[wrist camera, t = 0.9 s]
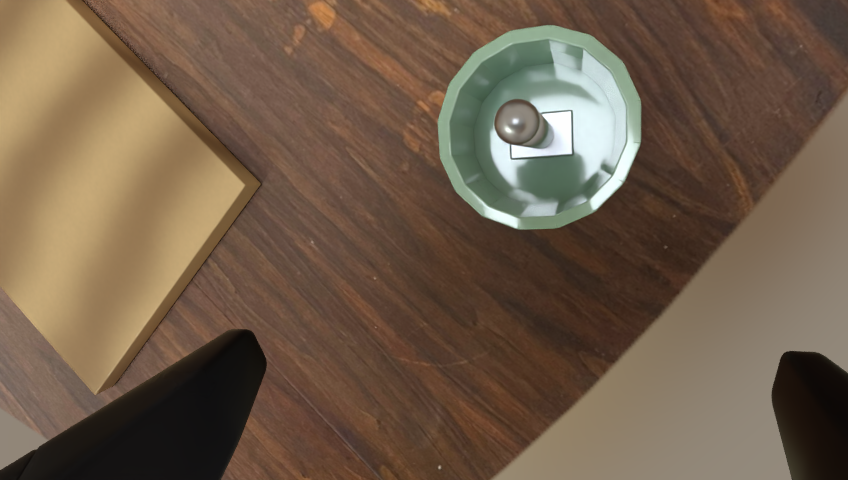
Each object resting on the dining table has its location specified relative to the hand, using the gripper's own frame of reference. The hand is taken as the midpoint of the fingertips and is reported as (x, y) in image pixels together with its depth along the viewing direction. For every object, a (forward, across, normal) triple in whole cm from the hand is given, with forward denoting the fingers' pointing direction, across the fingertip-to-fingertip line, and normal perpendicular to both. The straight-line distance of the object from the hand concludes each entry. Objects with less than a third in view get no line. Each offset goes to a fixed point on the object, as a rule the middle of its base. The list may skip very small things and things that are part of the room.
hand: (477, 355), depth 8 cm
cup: (+17, 0, +2) cm, 17 cm away
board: (+19, +37, -3) cm, 42 cm away
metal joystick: (+16, 0, +2) cm, 16 cm away
